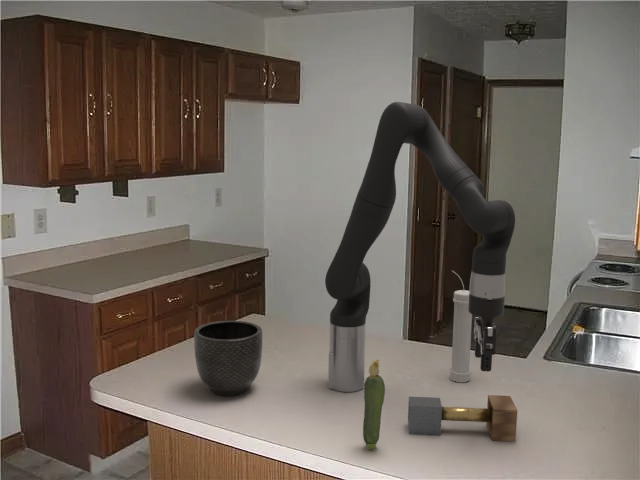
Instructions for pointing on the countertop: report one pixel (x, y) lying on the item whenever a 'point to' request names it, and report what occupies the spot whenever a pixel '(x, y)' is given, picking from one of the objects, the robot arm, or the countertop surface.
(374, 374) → the vegetable
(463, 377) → the pipe
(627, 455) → the countertop surface
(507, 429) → the socket
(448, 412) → the tube
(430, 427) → the sleeve
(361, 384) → the robot arm
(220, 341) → the planter
